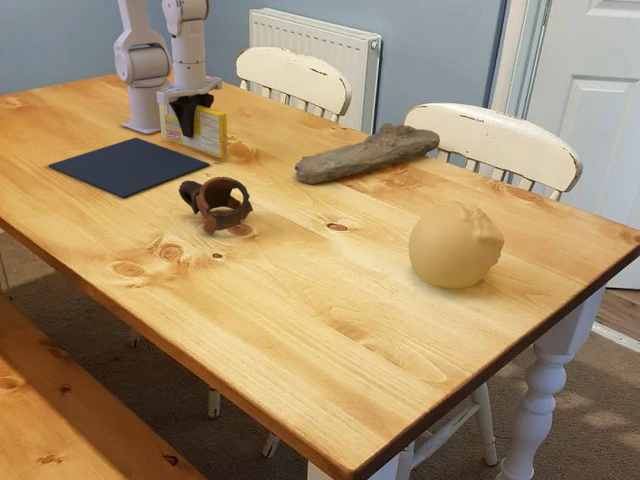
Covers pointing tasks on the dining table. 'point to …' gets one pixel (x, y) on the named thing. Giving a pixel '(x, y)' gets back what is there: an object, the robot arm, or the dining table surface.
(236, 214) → the brown curved ring piece
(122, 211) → the dining table surface
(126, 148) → the cloth
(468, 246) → the sculpture
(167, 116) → the candy box
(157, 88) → the robot arm
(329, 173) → the long grey stone
